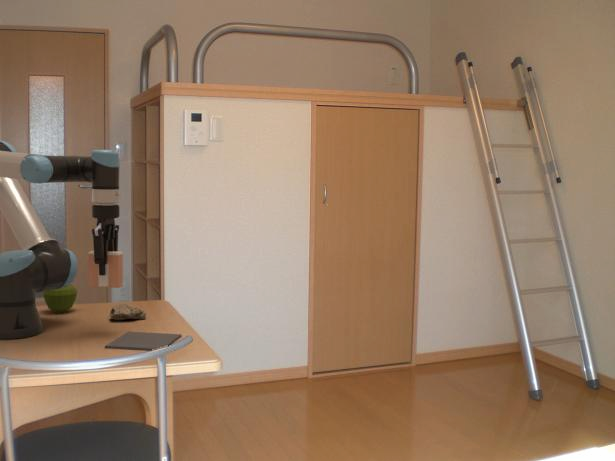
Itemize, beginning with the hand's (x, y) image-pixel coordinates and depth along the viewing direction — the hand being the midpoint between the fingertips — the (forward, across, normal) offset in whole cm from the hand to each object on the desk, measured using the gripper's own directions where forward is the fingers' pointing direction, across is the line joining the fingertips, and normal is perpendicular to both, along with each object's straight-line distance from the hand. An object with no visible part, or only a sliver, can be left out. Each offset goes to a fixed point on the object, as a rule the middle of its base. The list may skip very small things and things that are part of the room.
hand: (106, 285), depth 201 cm
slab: (0, 0, 0) cm, 0 cm away
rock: (+15, +19, +2) cm, 24 cm away
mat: (+14, -7, -14) cm, 21 cm away
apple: (+15, +24, +27) cm, 39 cm away
